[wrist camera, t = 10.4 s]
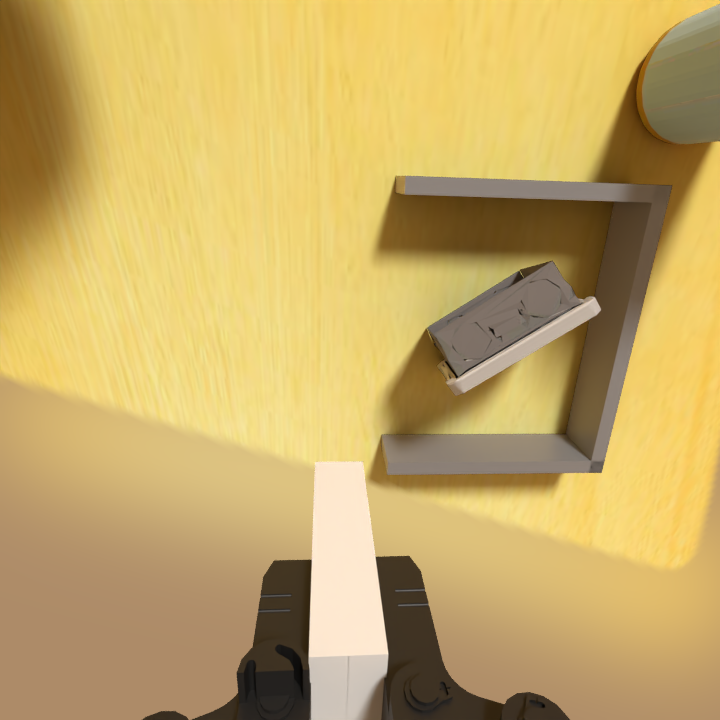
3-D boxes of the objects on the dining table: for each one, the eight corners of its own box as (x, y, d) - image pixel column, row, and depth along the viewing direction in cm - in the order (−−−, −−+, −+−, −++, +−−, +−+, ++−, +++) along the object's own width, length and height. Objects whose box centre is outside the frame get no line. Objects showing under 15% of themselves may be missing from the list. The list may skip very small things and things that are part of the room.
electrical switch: (440, 373, 36) (470, 422, 27) (405, 316, 35) (424, 348, 26) (551, 306, 35) (620, 335, 26) (519, 245, 34) (579, 253, 25)
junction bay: (395, 176, 31) (405, 175, 27) (632, 184, 32) (672, 185, 28) (381, 445, 38) (387, 474, 34) (575, 444, 39) (601, 472, 35)
